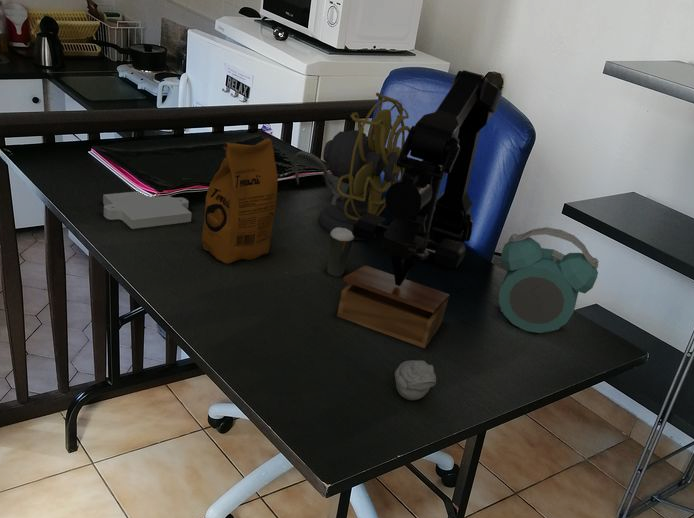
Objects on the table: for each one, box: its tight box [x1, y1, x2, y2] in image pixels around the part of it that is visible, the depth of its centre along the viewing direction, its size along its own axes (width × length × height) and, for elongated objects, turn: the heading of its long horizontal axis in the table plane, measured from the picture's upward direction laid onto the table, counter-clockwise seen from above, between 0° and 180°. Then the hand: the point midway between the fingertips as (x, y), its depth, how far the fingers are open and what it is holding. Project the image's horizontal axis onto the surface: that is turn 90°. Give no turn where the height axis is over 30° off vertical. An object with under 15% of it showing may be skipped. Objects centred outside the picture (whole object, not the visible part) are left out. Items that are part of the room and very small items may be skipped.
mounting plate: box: [102, 190, 193, 230], centre depth 155 cm, size 18×13×2 cm
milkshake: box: [326, 228, 355, 277], centre depth 146 cm, size 4×5×10 cm
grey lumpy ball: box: [394, 359, 437, 401], centre depth 114 cm, size 6×7×7 cm
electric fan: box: [292, 92, 411, 241], centre depth 165 cm, size 26×32×30 cm
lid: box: [342, 264, 451, 313], centre depth 132 cm, size 11×17×1 cm
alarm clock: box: [498, 226, 600, 334], centre depth 140 cm, size 17×10×20 cm, turn 71°
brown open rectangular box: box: [336, 283, 449, 349], centre depth 134 cm, size 11×17×5 cm, turn 68°
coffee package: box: [200, 138, 279, 264], centre depth 142 cm, size 10×12×22 cm
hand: (398, 284), depth 132 cm, fingers closed
